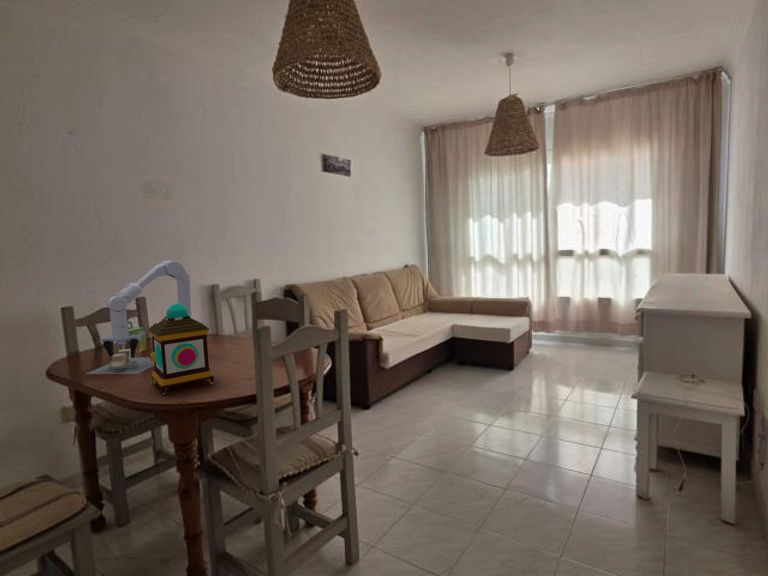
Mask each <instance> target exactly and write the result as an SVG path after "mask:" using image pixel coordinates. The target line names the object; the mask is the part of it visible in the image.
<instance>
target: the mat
mask: <svg viewBox="0 0 768 576" xmlns="http://www.w3.org/2000/svg"><path fill="white" fill-rule="evenodd" d="M129 361H136V363H138V367H137V368H135V369H132V370H109V366H110V363H109V364H105V365H103V366H101V367H99V368H97V369H93V370H92V371H88V372H86V373H85V375H138V374H140V373H143V372H144V371H146V370H149V369H151V368H153V367H155V366H154V362H152V361H151V360H150V356H149V357H148V356H147V357H134V358H132V359H131V360H129Z"/></svg>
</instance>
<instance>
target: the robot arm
mask: <svg viewBox="0 0 768 576" xmlns="http://www.w3.org/2000/svg"><path fill="white" fill-rule="evenodd" d="M164 276H169V277H171V278H172V279H173V280H175V281H176V285H177V286H176V289H177V290H176V292H177V293H176V294H177V303H179V304H181V305H183V306H184V307H185V308H186V309H187V312H188V315H189V316H190V318H192V319H194V318H193V316H192V305H191V304H192V303H191V285H190V284H191V283H190V281H191V280H190V279H191V278H190V275H189V273H188V272H187V271H186V269H185V268H184V265H183V264H182V263H180V261H177V260H168V259H165V260H161V262H160V263H158V264H156V265H155V266H154V267H153V268H152V269H150V270H149V271H148V272H147V273H146V274H145V275H143V276H142V277H141V278H140V279H139V280H137V282H131V283H127V284H125V285H124V286H125V287H124V288H123V289H121V291H119V292H116V293H115V296H111V297H110V298H109V299H108V301H107V304H106V306H107V307H108V309H109V315H110V316H109V317H110V326H111V327H110V328H111V335H110V336H102V337H101V336H100V338H99V343H100V344H102V343H103V344H102V347H103V348H104V350H105V351H106V352H107V354H108V357H109V359H110V361H112V360H111V356H113V355H114V354H115V353H114V342H116V341H127V340H131V341H130V342H129V345H130V350H131V358H136V357H135V355H136V354H135V350H136V347H137V344H138V342H139V340H140V339H141V334H139V335H128V327H129V326H128V325H129V324H128V325H127V322H128V317H127V316H128V315H127V308H128V305H129V304H130V303H131V302H133V301H134V300H135V299H136V298H138V297H139V296H141V294H142V293H143V289H144V288H145V287H146V286H147V285H149V284H151V283H152V282H153V281H154V280H156V279H157V278H159V277H164Z"/></svg>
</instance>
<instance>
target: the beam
mask: <svg viewBox="0 0 768 576" xmlns="http://www.w3.org/2000/svg"><path fill="white" fill-rule="evenodd" d="M131 359H132V358H131V350H130V349H121V350H120V351H116V353H114V355H113V356H111V360H110V361H111V362H112V366H123V365H125V364H126V363H127V362H128V361H129V360H131Z"/></svg>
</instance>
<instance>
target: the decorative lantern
mask: <svg viewBox="0 0 768 576" xmlns="http://www.w3.org/2000/svg"><path fill="white" fill-rule="evenodd" d="M192 318H193V317H192ZM192 318H190V316H189V315H188V312H187V309H186V308H185V307H184V306H183V305H181V304H179V303H178V302H175V303H173V304H171V305H170V306H169V307H168V308H167V310H166V315H165V316H164V318H162V319H161V320H160V321H159V322H158V323H156V322H155V323H154V324H153V323H152V325H151V326H150V327H149V328H147V330H148V333H149V334H150V336H151V344H152V352H151V353H150V354H149V357H150V360H151V361H152V362H154V366H153V367H154V369H153V371H152V374H151V382H152V384H153V383H156V384H157V385H158V386H159V388H160V391H161V392H160V393H161V395H162V394H163V393H166V394H167V389H168V388H170V387H175V386H181V385H185V384H190V383H195V382H200V381H203V380H208V383H209V382H210V383H212V382H214V383H215V378H214V374H213V372H212V370H211V369H210V364H209V350H210V344H209V341H208V333H209V332H210V328H209V327H207V325H206V324H204V323H203V322H200V321H198V320H196V319H194V318H193V319H192Z"/></svg>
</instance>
